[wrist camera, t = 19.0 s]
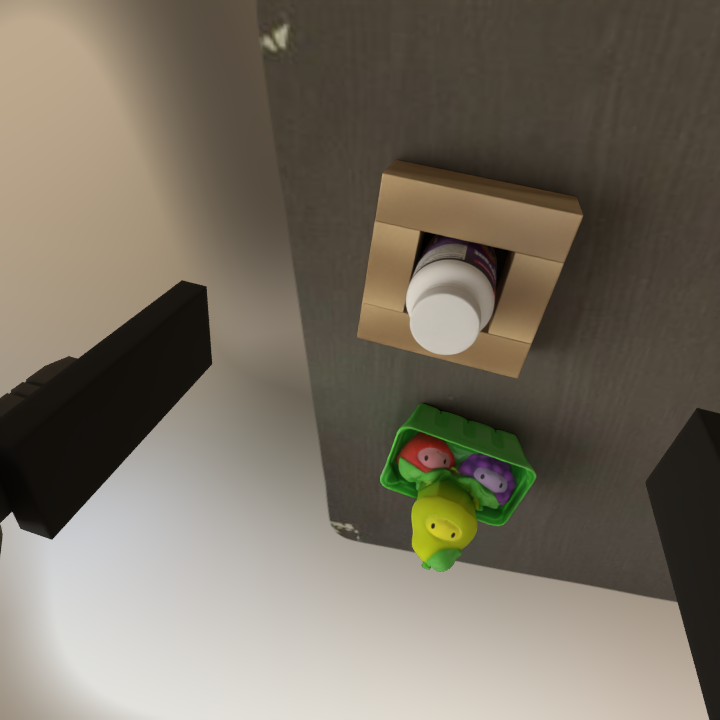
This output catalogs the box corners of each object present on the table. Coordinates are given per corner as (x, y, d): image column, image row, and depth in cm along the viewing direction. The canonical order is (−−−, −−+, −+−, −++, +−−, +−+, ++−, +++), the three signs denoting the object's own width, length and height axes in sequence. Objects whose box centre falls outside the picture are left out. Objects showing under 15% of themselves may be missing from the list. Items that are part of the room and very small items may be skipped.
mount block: (395, 159, 33) (382, 172, 30) (576, 196, 31) (584, 215, 28) (369, 313, 40) (356, 337, 37) (517, 350, 38) (517, 379, 35)
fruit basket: (538, 429, 42) (545, 539, 33) (498, 494, 47) (495, 604, 38) (411, 386, 43) (383, 481, 34) (386, 454, 48) (356, 552, 39)
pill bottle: (503, 288, 36) (500, 359, 28) (432, 301, 38) (410, 371, 30) (489, 216, 33) (482, 273, 26) (413, 234, 35) (385, 292, 28)
